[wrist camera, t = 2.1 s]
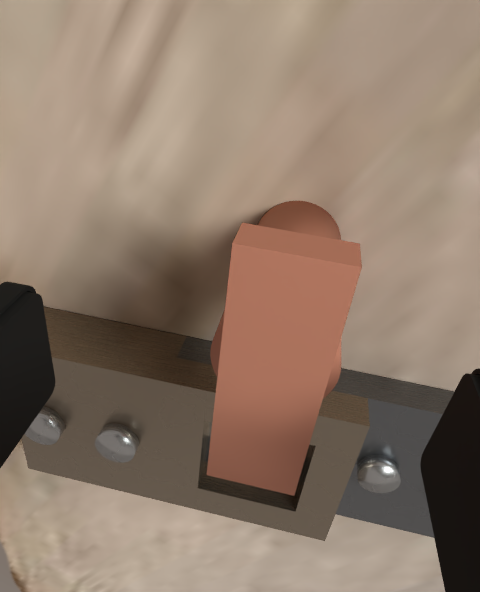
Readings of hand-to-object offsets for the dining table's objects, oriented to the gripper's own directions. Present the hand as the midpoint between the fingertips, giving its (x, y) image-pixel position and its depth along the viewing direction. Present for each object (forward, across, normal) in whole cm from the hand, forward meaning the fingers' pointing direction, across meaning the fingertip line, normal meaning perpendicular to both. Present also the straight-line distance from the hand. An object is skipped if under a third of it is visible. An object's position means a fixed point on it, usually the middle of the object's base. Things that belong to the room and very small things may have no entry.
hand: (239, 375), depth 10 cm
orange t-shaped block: (+8, -1, 0) cm, 8 cm away
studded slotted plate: (+8, -1, +10) cm, 13 cm away
